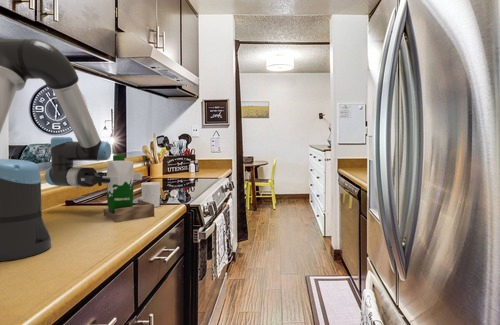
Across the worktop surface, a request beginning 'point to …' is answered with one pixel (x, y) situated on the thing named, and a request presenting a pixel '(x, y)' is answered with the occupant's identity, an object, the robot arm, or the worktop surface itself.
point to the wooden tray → (131, 212)
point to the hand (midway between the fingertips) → (130, 178)
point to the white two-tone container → (120, 192)
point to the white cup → (151, 192)
